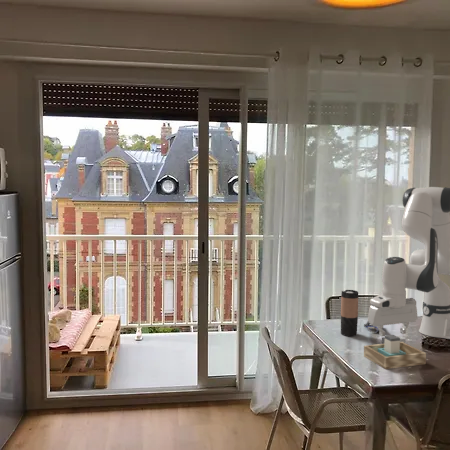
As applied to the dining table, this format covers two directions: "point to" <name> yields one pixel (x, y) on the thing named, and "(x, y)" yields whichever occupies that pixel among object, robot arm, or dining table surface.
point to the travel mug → (349, 312)
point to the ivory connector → (392, 344)
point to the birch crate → (389, 362)
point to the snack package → (370, 327)
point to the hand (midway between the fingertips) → (392, 334)
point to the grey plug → (397, 336)
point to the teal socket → (381, 350)
